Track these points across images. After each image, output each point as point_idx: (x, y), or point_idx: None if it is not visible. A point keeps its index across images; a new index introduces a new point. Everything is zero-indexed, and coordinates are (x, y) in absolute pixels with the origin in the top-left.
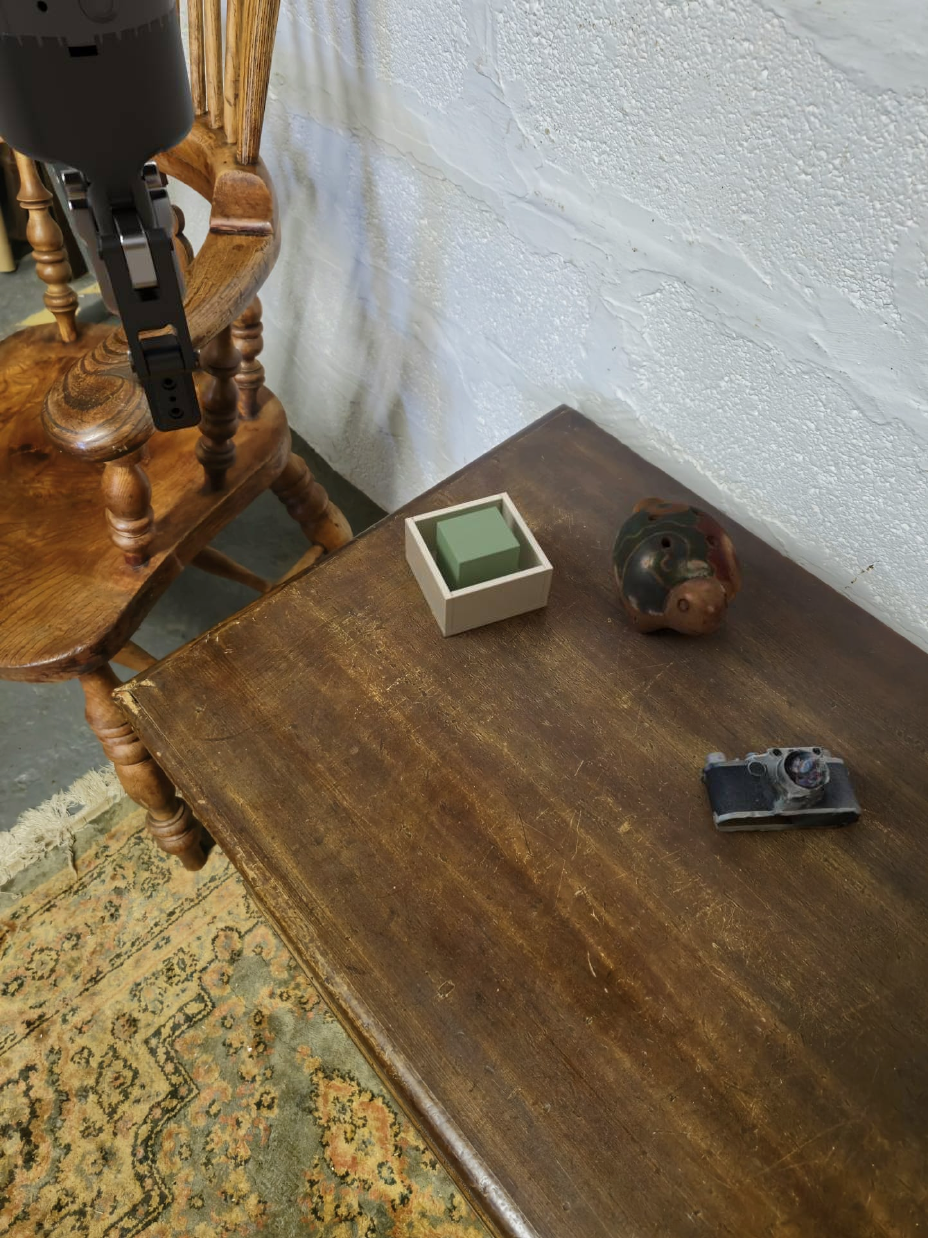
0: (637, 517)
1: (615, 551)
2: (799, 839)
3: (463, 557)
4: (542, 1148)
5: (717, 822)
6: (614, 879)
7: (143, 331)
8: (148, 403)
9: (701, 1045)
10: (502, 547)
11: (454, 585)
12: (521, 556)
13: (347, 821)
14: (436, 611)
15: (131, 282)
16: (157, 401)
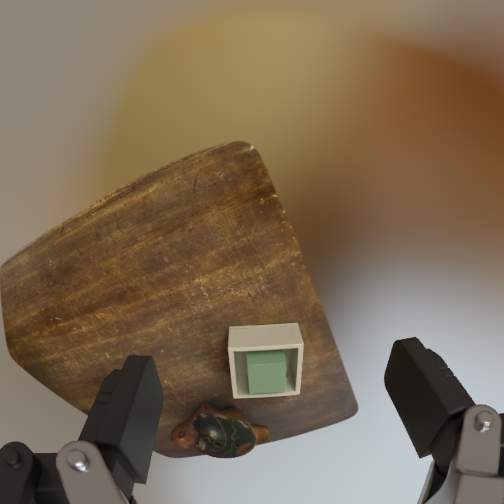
0: (245, 438)
1: (234, 422)
2: None
3: (251, 368)
4: (13, 277)
5: (101, 385)
6: (87, 342)
7: (391, 352)
8: (116, 386)
9: (38, 336)
10: (251, 386)
11: None
12: None
13: (125, 244)
14: (243, 330)
15: (424, 411)
16: (93, 406)
